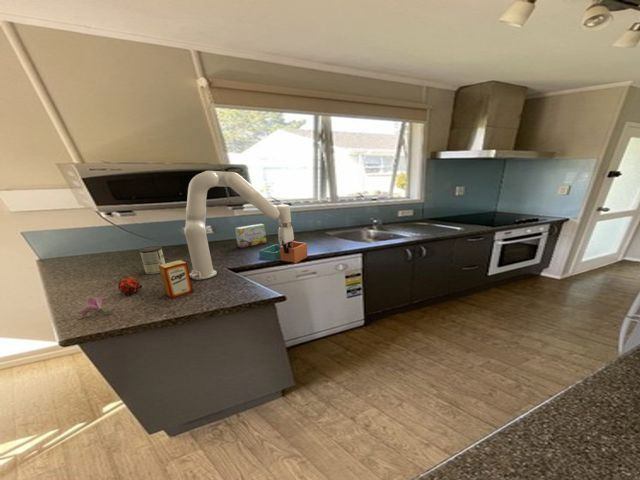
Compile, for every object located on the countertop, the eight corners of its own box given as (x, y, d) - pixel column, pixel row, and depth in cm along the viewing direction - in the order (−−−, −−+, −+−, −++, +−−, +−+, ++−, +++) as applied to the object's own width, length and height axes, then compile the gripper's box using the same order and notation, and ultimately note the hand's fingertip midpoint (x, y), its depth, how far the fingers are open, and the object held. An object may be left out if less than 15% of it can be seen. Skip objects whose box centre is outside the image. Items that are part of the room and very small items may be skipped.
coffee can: (144, 270, 170) (137, 248, 166) (165, 266, 177) (159, 244, 173) (146, 275, 163) (140, 252, 159) (168, 271, 170) (162, 248, 166)
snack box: (241, 248, 215) (238, 228, 210) (237, 246, 218) (234, 227, 213) (266, 242, 231) (264, 224, 226) (263, 241, 234) (260, 223, 230)
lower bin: (276, 260, 189) (275, 252, 188) (259, 258, 194) (258, 250, 192) (291, 253, 204) (290, 246, 202) (276, 251, 208) (275, 244, 207)
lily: (118, 307, 131) (101, 291, 127) (124, 304, 123) (105, 287, 120) (88, 326, 122) (68, 309, 119) (92, 325, 115) (71, 307, 111)
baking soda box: (171, 298, 137) (163, 267, 132) (166, 294, 141) (158, 264, 136) (193, 291, 144) (186, 261, 139) (187, 288, 148) (180, 259, 143)
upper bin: (295, 263, 185) (293, 248, 182) (281, 261, 189) (279, 246, 186) (307, 256, 198) (306, 243, 195) (294, 255, 201) (293, 241, 198)
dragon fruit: (131, 290, 148) (137, 301, 141) (111, 286, 141) (116, 297, 134) (141, 276, 149) (146, 285, 142) (121, 271, 142) (126, 281, 135)
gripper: (288, 221, 188) (291, 248, 194) (271, 226, 174) (275, 255, 180) (298, 222, 186) (300, 249, 192) (281, 227, 171) (284, 256, 177)
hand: (288, 252), depth 186 cm, fingers closed
